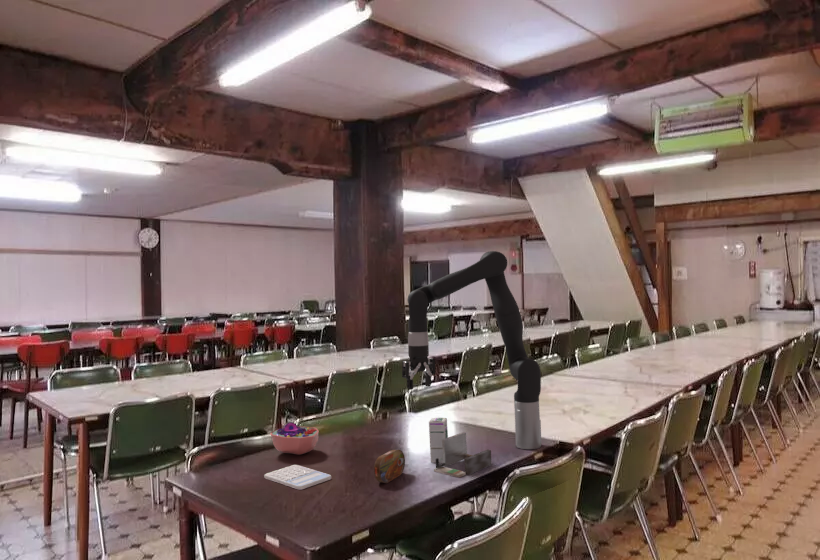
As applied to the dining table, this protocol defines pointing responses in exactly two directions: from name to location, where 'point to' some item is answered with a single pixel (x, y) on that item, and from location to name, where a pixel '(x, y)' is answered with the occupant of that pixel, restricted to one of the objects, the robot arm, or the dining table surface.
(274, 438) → the cell model
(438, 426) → the syrup box
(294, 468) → the calculator
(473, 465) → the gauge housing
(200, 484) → the dining table surface
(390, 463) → the tin
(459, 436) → the gauge paddle
